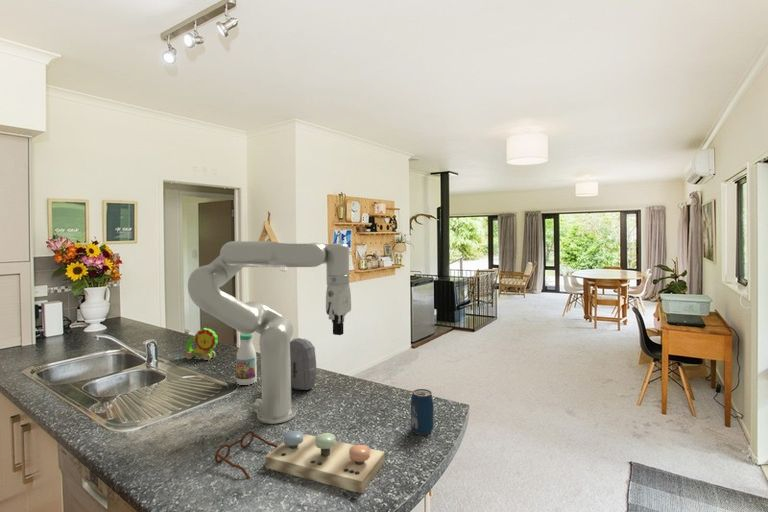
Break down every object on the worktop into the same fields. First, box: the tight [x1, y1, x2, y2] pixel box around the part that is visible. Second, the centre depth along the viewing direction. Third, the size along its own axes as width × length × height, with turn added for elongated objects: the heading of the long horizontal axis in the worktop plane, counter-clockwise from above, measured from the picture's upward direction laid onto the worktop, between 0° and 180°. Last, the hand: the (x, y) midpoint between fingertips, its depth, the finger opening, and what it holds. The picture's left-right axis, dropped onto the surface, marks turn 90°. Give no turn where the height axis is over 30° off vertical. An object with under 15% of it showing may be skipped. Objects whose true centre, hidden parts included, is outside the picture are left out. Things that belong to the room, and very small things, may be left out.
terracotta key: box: [349, 444, 371, 462], centre depth 103 cm, size 5×5×2 cm
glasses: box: [214, 430, 279, 480], centre depth 109 cm, size 13×13×5 cm
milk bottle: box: [236, 333, 258, 386], centre depth 165 cm, size 8×8×20 cm
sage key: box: [315, 432, 336, 449], centre depth 107 cm, size 5×5×2 cm
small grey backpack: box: [290, 337, 317, 391], centre depth 159 cm, size 15×8×20 cm, turn 58°
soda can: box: [410, 388, 434, 436], centre depth 126 cm, size 7×7×12 cm
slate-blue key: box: [283, 429, 304, 446], centre depth 110 cm, size 5×5×2 cm
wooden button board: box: [264, 433, 386, 494], centre depth 107 cm, size 28×14×4 cm, turn 68°
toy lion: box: [184, 327, 219, 361], centre depth 197 cm, size 16×5×15 cm, turn 79°
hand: (338, 334), depth 137 cm, fingers closed
